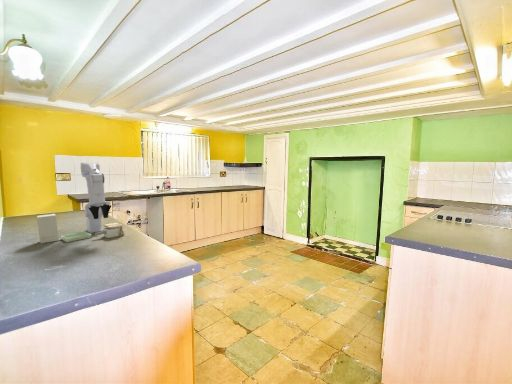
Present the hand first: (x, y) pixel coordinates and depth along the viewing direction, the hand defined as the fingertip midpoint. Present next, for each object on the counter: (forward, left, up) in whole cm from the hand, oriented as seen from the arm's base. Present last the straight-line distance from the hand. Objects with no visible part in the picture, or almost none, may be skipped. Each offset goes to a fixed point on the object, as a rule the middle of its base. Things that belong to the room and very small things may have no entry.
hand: (101, 218), depth 147 cm
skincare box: (-19, -20, -12) cm, 30 cm away
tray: (-14, -9, -12) cm, 20 cm away
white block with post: (-3, +4, -12) cm, 13 cm away
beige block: (-3, +7, -12) cm, 14 cm away
